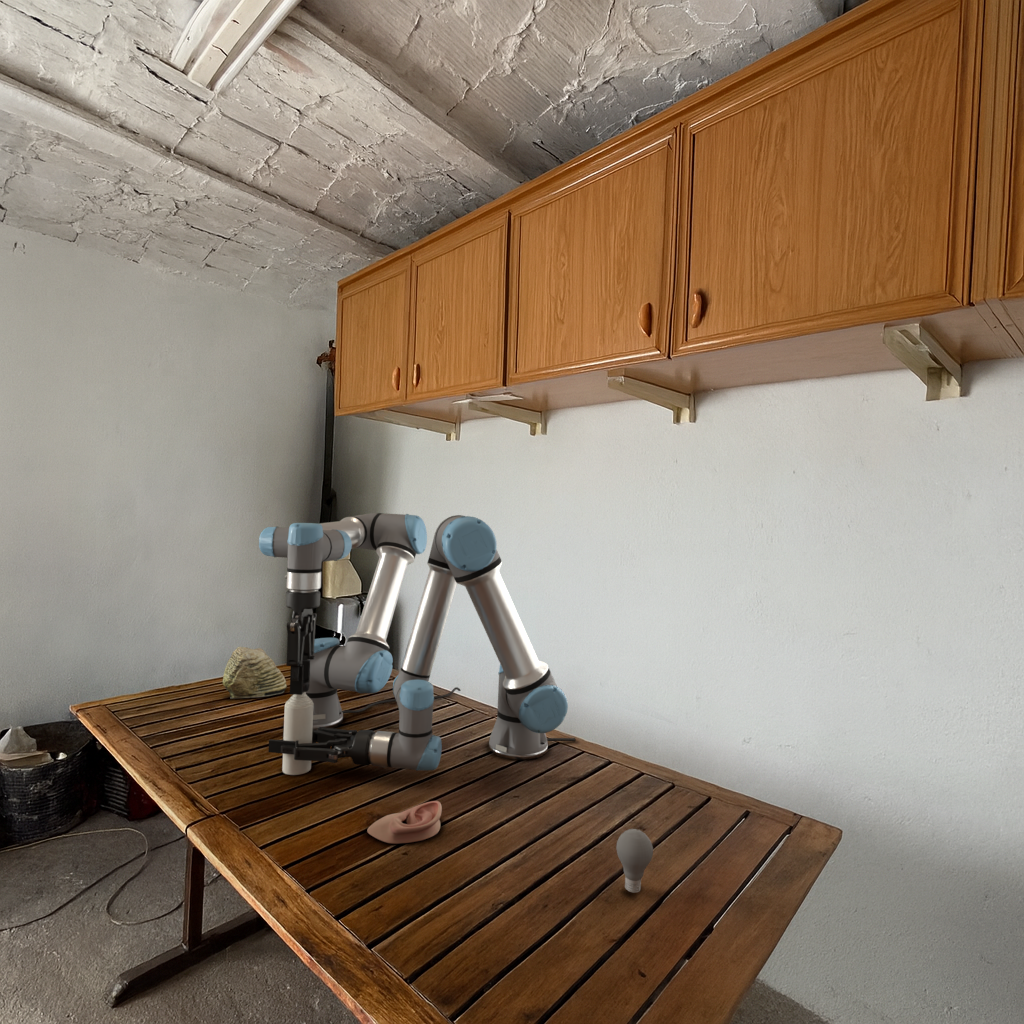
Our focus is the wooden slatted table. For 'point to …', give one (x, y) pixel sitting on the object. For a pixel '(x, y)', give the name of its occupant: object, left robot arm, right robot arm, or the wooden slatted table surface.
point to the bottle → (297, 731)
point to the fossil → (252, 674)
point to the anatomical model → (408, 824)
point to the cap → (305, 685)
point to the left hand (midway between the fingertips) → (299, 690)
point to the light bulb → (634, 857)
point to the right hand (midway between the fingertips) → (276, 739)
